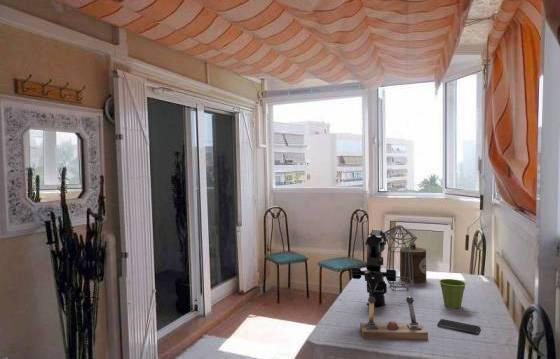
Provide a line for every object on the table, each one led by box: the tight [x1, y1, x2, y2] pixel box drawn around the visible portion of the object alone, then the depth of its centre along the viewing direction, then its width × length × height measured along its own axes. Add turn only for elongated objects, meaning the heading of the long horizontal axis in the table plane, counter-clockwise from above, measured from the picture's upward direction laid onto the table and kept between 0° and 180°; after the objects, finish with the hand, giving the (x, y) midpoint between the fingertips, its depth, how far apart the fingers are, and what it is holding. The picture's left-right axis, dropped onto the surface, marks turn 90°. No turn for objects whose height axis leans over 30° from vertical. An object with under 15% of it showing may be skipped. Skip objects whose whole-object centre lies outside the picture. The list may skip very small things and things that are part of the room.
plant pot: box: [438, 278, 467, 309], centre depth 176 cm, size 12×12×11 cm
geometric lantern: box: [383, 224, 418, 292], centre depth 203 cm, size 16×16×35 cm
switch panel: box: [359, 320, 429, 340], centre depth 146 cm, size 9×24×4 cm, turn 86°
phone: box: [436, 318, 481, 336], centre depth 151 cm, size 8×1×15 cm
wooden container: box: [399, 242, 427, 284], centre depth 221 cm, size 15×15×22 cm
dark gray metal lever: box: [367, 296, 376, 325], centre depth 148 cm, size 3×3×11 cm
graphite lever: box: [405, 296, 419, 325], centre depth 147 cm, size 3×3×11 cm
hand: (372, 292), depth 156 cm, fingers closed
